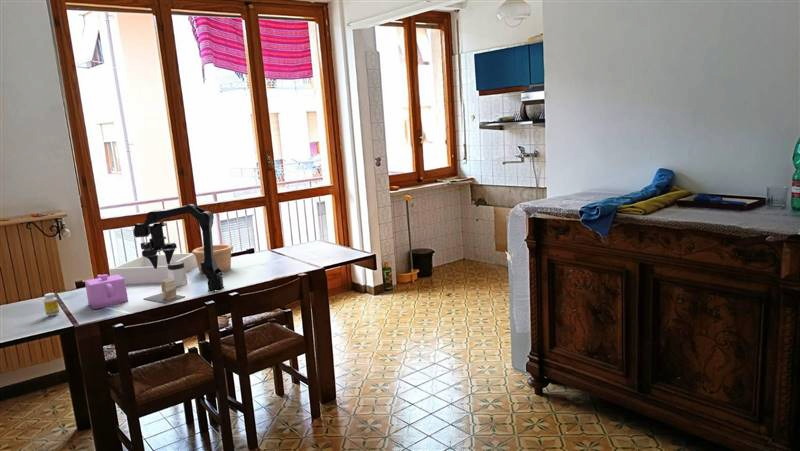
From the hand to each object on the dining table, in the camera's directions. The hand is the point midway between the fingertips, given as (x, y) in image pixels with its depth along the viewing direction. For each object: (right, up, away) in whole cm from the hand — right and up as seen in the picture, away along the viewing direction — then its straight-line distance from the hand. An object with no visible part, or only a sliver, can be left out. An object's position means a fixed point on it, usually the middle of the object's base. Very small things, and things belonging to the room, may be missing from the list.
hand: (162, 266), depth 289 cm
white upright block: (+2, -11, +17) cm, 20 cm away
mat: (+4, -15, -8) cm, 17 cm away
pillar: (+8, -15, -11) cm, 20 cm away
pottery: (+14, -7, +40) cm, 43 cm away
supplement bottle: (-42, -21, -21) cm, 51 cm away
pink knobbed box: (-23, -17, -8) cm, 30 cm away
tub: (-20, -9, +42) cm, 47 cm away
